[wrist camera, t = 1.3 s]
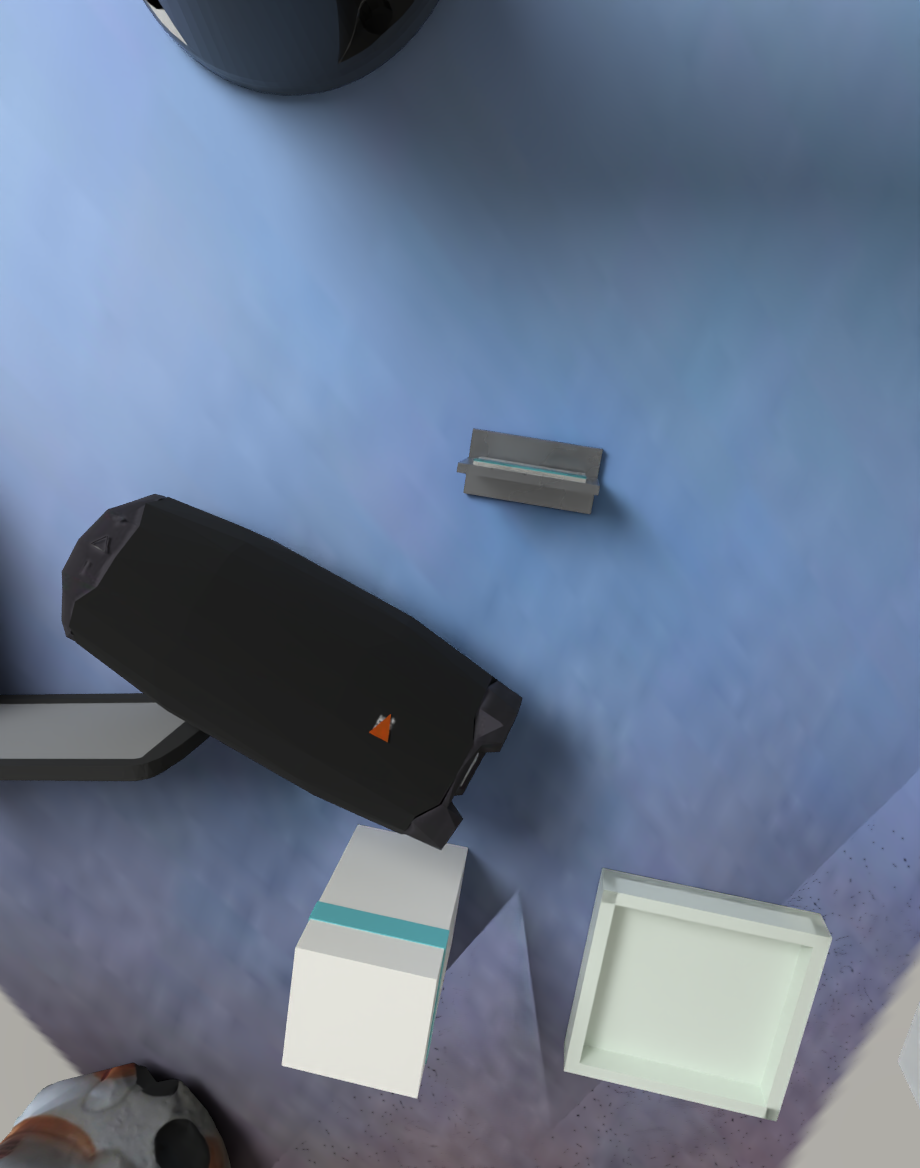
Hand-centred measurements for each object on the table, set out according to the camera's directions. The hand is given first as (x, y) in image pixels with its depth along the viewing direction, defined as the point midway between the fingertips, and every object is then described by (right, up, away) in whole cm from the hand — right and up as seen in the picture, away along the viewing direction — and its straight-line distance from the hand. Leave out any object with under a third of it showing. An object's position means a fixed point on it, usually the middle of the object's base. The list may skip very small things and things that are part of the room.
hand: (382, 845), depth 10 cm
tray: (+13, -18, +33) cm, 39 cm away
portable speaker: (+3, -2, +31) cm, 31 cm away
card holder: (+4, +8, +28) cm, 29 cm away
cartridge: (-2, -13, +34) cm, 36 cm away
